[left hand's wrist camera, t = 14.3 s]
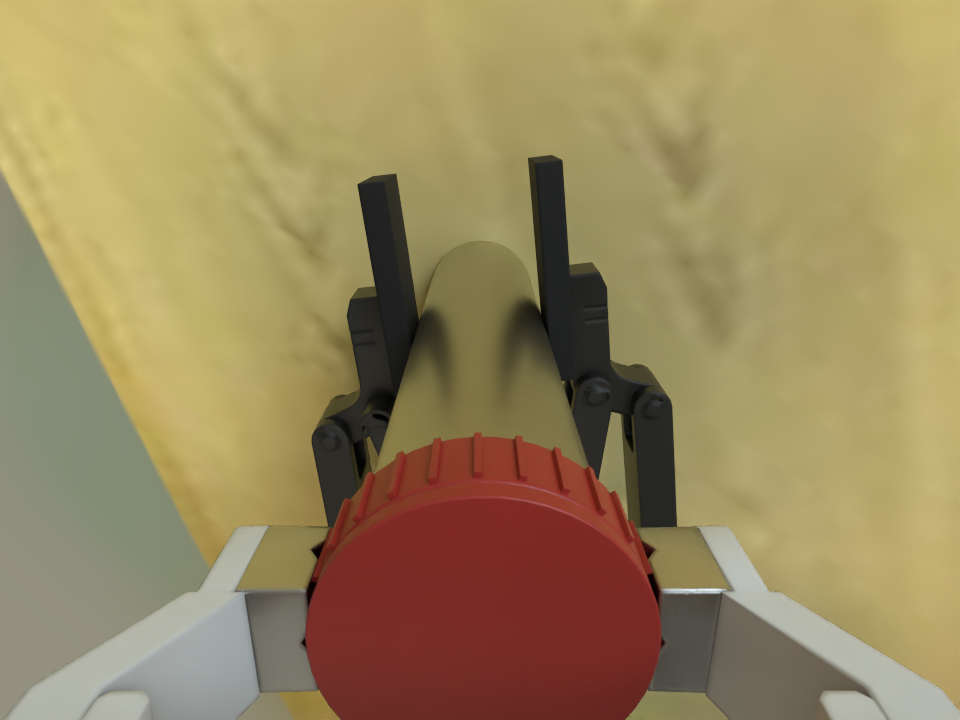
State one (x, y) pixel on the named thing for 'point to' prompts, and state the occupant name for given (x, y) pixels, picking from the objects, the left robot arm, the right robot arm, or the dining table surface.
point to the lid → (483, 591)
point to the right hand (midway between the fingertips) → (460, 170)
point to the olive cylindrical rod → (481, 361)
